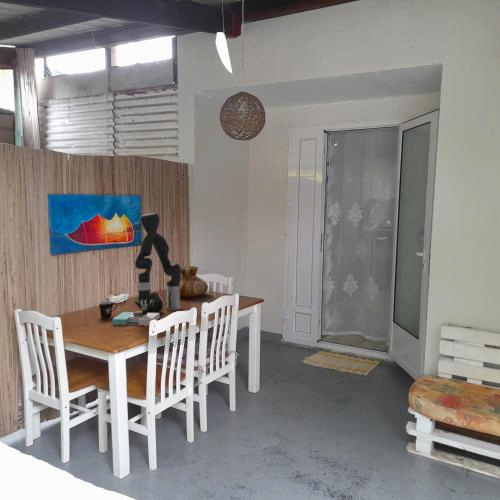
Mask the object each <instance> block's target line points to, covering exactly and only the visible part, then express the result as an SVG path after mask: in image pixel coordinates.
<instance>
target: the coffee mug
mask: <svg viewBox="0 0 500 500" xmlns="http://www.w3.org/2000/svg"><path fill="white" fill-rule="evenodd" d="M113 305H115V308H114V309H113ZM98 306H99V312H100V313H99V314H100V318H101V319H102V320H103V319H111V318H112V314H113V312H114V311H115V310H116V309H117V308H118V304H117V303H116V302H115V303H114V302H113V301H110V300H109V301H100V302H99V303H98Z"/></svg>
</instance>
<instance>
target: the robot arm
mask: <svg viewBox="0 0 500 500" xmlns="http://www.w3.org/2000/svg"><path fill="white" fill-rule="evenodd" d="M140 222H141V225H142V227H143V229H144V230H145V232H146V235H145V237H144V238H143V239H142V240H141V244H140V250H139V254H138V255H137V257H136V259H135V263H134V265H135V268H136V269H138V270H144V271H143V272H140V273H138V285H137V288H138V298H137V300H135V301H134V304H135V305H136V306H137V307H138V308H139V309H140V310H141V311H142V312H143V315H147V309H149V308H150V307H151V306H152V305H153V303H154V302H155V301H153V300H151V297H150V296H151V295H150V294H151V282H150V281H151V277H150V276H151V270H152V267H153V260H152V259H151V258H149V256H151V255H152V251H153V248H154V250H155V252H156V254H157V257H158V259H159V261H160V264H161V267H162V270H163V272H164V274H165V275H166V276H169V277H171V280H168V281H167V282H166V309H167V310H169V311H177V310H180V308H181V298H180V280H181V277H182V274H181V267H182V266H181V265H180V264H179V263H174V262H173V263H172V262H171V261H170V259H169V254H170V253H169V252H170V250H169V249H170V248H169V245H168V242H167V240H166V238H164V236H162V235H161V234H159V233H158V228H159V225H160V217H159V214H157V213H156V212H152V213H145V214H143V215H141V217H140ZM149 302H150V305H149V306H148V303H149Z"/></svg>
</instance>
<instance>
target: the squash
mask: <svg viewBox="0 0 500 500" xmlns="http://www.w3.org/2000/svg"><path fill="white" fill-rule="evenodd" d="M150 295H151V296H150V297H151V300H153V301H155V302H154V303H153V305H152V306H151V307H150V308H149V309H147V313H159V312H161V311H162V309H163V307H164V305H163V299H162V298H161V297H160V296H159V294H158V293H157V292H150ZM149 305H150V302H149V303H148V306H149Z"/></svg>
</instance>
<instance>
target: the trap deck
mask: <svg viewBox="0 0 500 500" xmlns="http://www.w3.org/2000/svg"><path fill="white" fill-rule="evenodd" d="M134 312H135V311H133V312H132V311H122V312H121V313H119V314H118V315H116V316H114V318H112V325H113V326H134V325H144V326H143V327H149V326H148V325H149V322H150V321H151V320H153V319H156V320H157V321H159V320H160V319H159V318H161V317H160V314H161V313H159V312H156V313H155V312H154V313H147V315H143V316H141V317H133V313H134ZM158 319H159V320H158Z"/></svg>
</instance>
